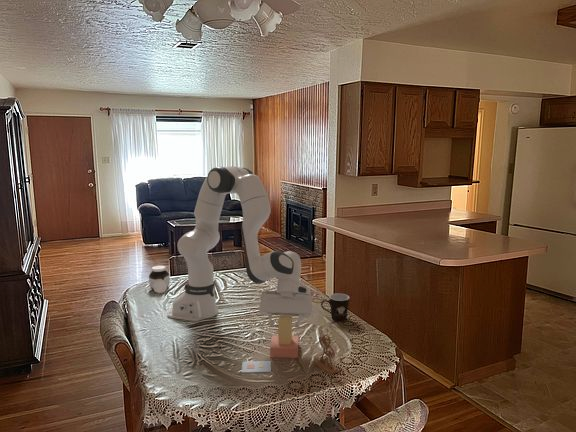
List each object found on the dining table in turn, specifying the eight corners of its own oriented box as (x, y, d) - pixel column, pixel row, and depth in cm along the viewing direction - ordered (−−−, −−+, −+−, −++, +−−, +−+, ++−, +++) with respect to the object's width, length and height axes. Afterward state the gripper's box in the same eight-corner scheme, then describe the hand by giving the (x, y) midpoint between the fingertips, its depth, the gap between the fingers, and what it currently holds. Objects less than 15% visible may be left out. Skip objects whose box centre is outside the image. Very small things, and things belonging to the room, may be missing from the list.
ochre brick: (278, 344, 158) (277, 320, 157) (280, 338, 163) (280, 316, 161) (290, 344, 158) (290, 321, 156) (292, 339, 162) (292, 316, 161)
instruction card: (241, 372, 146) (241, 371, 146) (242, 362, 153) (242, 361, 153) (270, 372, 146) (270, 371, 146) (270, 361, 153) (270, 360, 153)
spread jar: (162, 284, 234) (161, 263, 232) (176, 288, 228) (175, 267, 226) (144, 290, 225) (142, 269, 223) (157, 295, 218) (156, 273, 216)
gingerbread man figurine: (339, 371, 146) (339, 338, 144) (330, 374, 144) (330, 341, 142) (323, 360, 154) (323, 328, 152) (314, 363, 152) (314, 331, 150)
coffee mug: (350, 316, 192) (351, 294, 190) (346, 323, 184) (347, 301, 182) (325, 312, 196) (325, 291, 194) (320, 320, 188) (320, 298, 186)
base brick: (270, 358, 156) (270, 347, 156) (272, 345, 166) (272, 335, 165) (297, 358, 156) (297, 348, 155) (298, 345, 166) (298, 335, 165)
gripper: (260, 287, 165) (255, 321, 158) (313, 289, 163) (311, 324, 155) (262, 294, 170) (257, 327, 163) (314, 296, 168) (312, 331, 160)
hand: (284, 326), depth 159 cm, fingers open, 8 cm apart
